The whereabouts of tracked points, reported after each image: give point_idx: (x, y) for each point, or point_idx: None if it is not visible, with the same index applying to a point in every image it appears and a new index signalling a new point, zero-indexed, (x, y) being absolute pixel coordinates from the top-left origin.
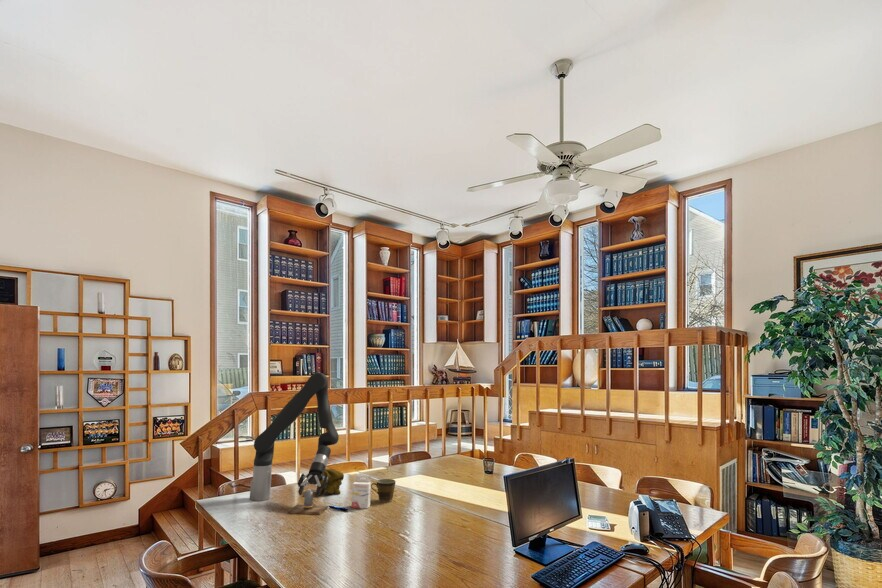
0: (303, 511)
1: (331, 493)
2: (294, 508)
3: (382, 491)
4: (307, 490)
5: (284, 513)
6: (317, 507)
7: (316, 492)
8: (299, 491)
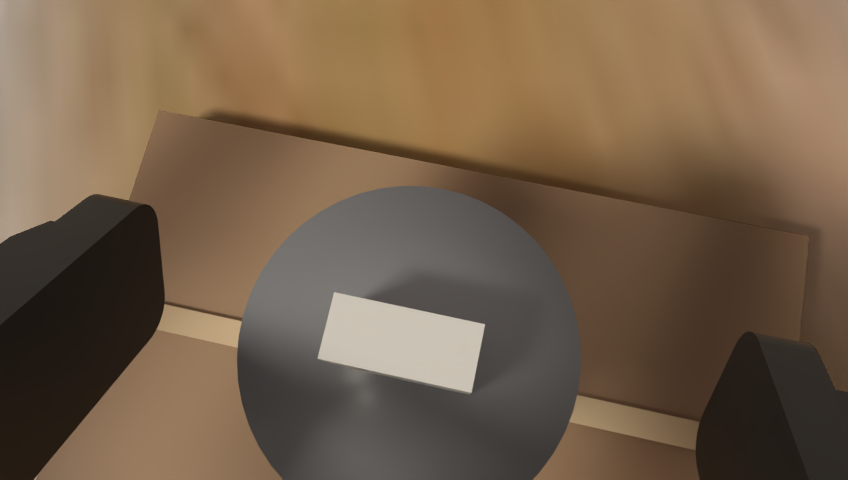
0: (477, 172)
1: None
2: (718, 363)
3: None
4: (470, 325)
5: (839, 225)
6: (238, 428)
7: (97, 218)
8: (814, 368)
